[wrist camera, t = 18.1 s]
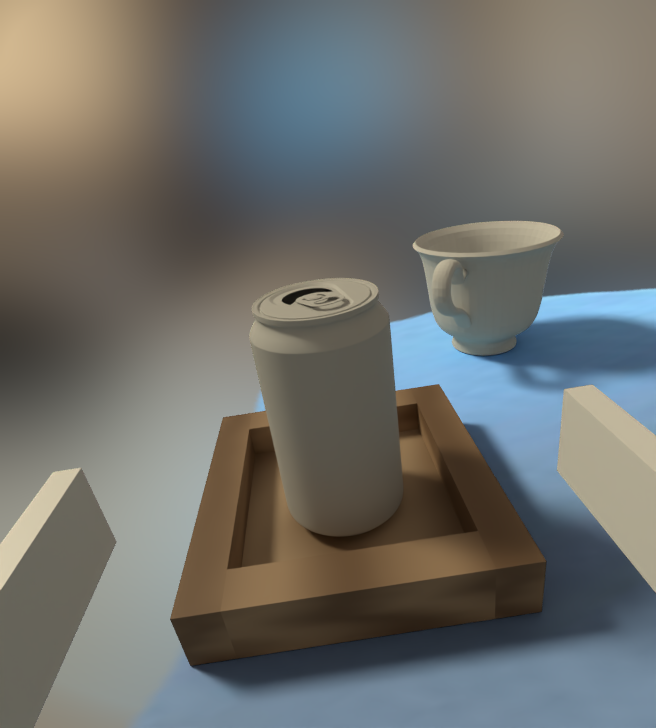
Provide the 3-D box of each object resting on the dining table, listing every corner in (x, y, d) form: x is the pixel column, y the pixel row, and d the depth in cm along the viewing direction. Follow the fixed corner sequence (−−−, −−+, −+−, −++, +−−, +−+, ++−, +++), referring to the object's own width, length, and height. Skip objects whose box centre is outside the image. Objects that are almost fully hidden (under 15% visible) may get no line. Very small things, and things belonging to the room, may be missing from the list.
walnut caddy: (440, 420, 33) (438, 384, 32) (541, 611, 20) (546, 561, 18) (232, 452, 33) (223, 417, 32) (190, 666, 20) (170, 619, 18)
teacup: (378, 372, 41) (367, 261, 37) (450, 314, 51) (448, 221, 47) (518, 401, 34) (525, 267, 30) (569, 327, 44) (580, 219, 40)
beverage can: (359, 451, 30) (335, 266, 24) (430, 506, 24) (418, 287, 19) (270, 497, 27) (221, 300, 22) (328, 570, 22) (282, 334, 17)
